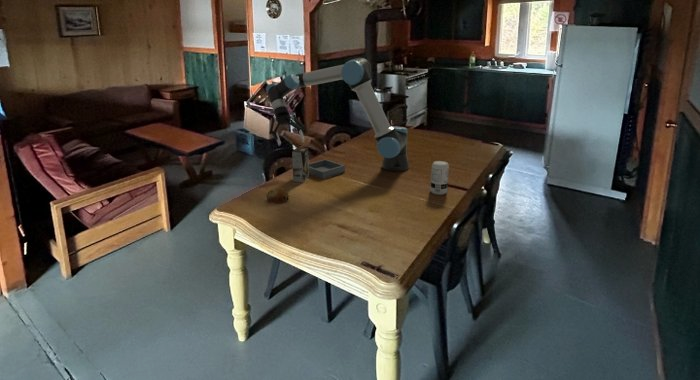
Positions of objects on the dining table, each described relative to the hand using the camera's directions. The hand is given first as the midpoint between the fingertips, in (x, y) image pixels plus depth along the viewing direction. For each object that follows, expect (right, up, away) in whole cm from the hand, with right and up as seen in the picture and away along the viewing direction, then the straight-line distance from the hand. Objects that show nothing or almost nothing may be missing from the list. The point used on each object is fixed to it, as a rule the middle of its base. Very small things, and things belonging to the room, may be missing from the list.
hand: (292, 142), depth 264 cm
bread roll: (-3, -30, -29) cm, 42 cm away
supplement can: (+74, -26, -19) cm, 81 cm away
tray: (+17, -15, +8) cm, 24 cm away
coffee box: (+5, -19, -2) cm, 20 cm away
